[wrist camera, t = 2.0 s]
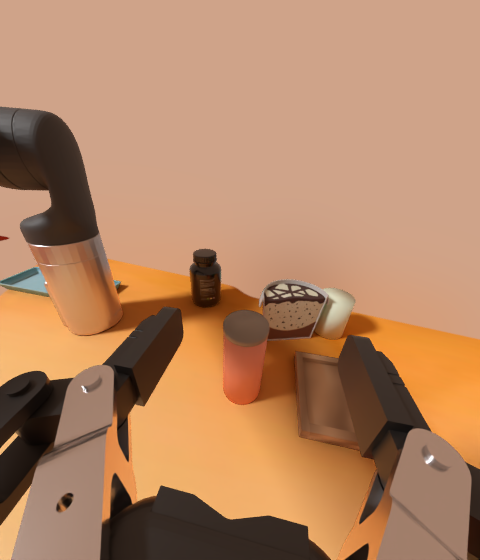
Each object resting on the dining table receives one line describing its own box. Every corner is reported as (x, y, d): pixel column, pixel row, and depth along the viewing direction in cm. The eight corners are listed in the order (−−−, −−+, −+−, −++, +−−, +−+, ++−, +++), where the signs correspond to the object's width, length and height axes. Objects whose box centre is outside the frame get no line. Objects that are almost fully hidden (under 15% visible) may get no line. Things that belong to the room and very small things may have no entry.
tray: (299, 436, 25) (301, 430, 24) (294, 357, 35) (295, 351, 35) (406, 460, 23) (413, 454, 23) (368, 370, 34) (372, 364, 33)
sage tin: (313, 336, 40) (323, 303, 36) (310, 317, 45) (318, 286, 41) (345, 341, 39) (359, 308, 35) (338, 321, 44) (350, 290, 40)
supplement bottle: (226, 296, 51) (226, 250, 45) (211, 311, 45) (210, 261, 39) (202, 289, 53) (200, 245, 47) (186, 303, 48) (181, 255, 42)
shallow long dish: (123, 288, 53) (121, 279, 52) (94, 309, 45) (91, 300, 44) (39, 274, 57) (35, 266, 56) (0, 291, 49) (-6, 282, 48)
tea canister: (218, 400, 28) (217, 337, 22) (227, 367, 33) (229, 307, 27) (258, 408, 28) (267, 345, 22) (261, 373, 32) (270, 313, 26)
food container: (305, 317, 45) (315, 277, 40) (317, 337, 40) (331, 294, 35) (250, 319, 43) (253, 278, 39) (255, 341, 38) (260, 297, 33)
